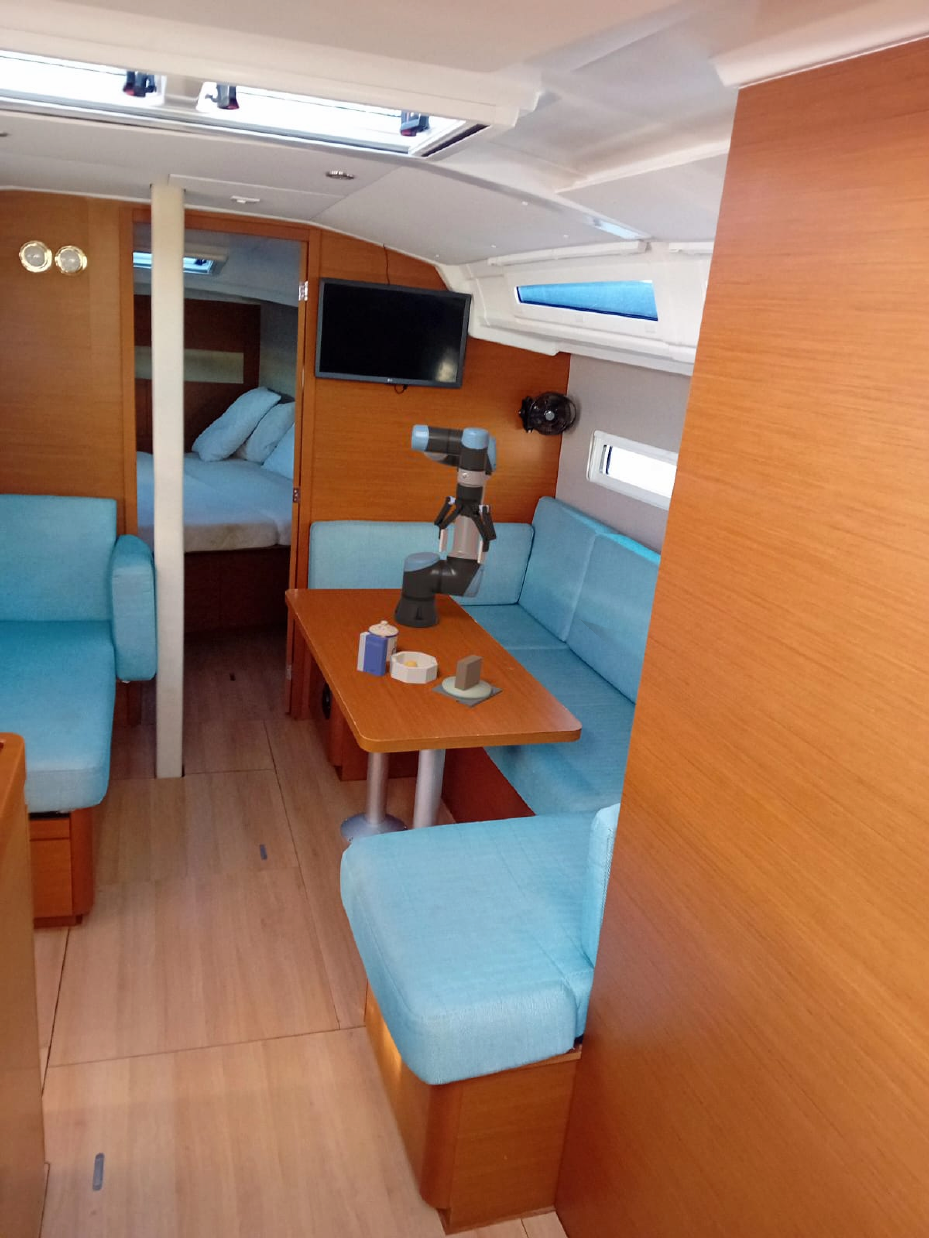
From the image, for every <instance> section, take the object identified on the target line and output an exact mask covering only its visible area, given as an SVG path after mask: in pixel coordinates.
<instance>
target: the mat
mask: <svg viewBox="0 0 929 1238" xmlns="http://www.w3.org/2000/svg"><path fill="white" fill-rule="evenodd" d="M490 686H491V694H490V695H489V696H488V697H486V698H483V699H477V700H468V699H461V698H457V697H454V696H451V695H449V694H447V693H446V692H444V691H443V689H442V683H441V684H438V685H436V686H434V687H433V688H431V689H430V690H431V691H432V692H435V693H439V694H440V695H443V696H446V697H449V698H451V699H453V700H455V702H456V703H460V704H462V705H465V706H467V705H468V706H467V707H469V706H470V707H469V708H472V707H474V706H476V705H478V704H480V703H482V702H484V701H486V700H488V699H491V698H492V697H494V696H496V695H498V694H500V693H501V692H500V691H503V688H499V687H496V686H495V685H494V686H493V685H491V684H490ZM499 692H500V693H499ZM497 693H498V694H497ZM493 695H494V696H493ZM491 696H492V697H491ZM487 698H488V699H487Z"/></svg>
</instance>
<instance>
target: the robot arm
mask: <svg viewBox="0 0 929 1238" xmlns="http://www.w3.org/2000/svg"><path fill="white" fill-rule="evenodd" d="M410 443H411V445H410V446H411V449H412V450H413V451H417V452H420V453H423V455H424V456H425V457H426V458H427V459H429V460H431V461H433V462H435V463H437V464H440V465H442V466H447V467H454V468H456V474H457V479H456V480H457V482H458V483H457V484H456V490H455V496H453V495H450V496H446V497H445V501H444V504H443V506H442V507H441V509H440V510H439V511H440V512H439V513H438V515H437V516H436V517H435V520H434V521H433V525H434V526H436V527H438V540H439V546H438V552H440V553H442V552H446V551H447V546H448V539H449V528H448V526H450V524H452V523H453V522H454V520H455V523H454V531H453V536H452V538H453V539H452V547H451V551H450V552H448V553H447V554H446V559H442V558H441V557H440V554H438V553H436V552H435V553H434V552H432V551H431V552H429V551H422V552H420V551H419V552H414V553H412V554H408V556H406V557H405V560H404V563H403V568H402V571H403V573H402V583H401V592H400V598H399V600H398V602H397V605H396V607H395V610H394V612H393V620H394V621H395V622H396V623H398V624H400V625H402V626H406V627H412V628H421V629H422V628H431V627H435V626H436V625H438V624H439V623H438V622H439V614H438V608H437V603H436V595H437V594H438V595H443V596H444V595H445V596H453V597H460V598H476V597H477V596H478V593H479V590H480V587H481V584H482V583H481V582H482V579H483V575H484V570H485V567H486V566H485V564H484V563H486V556H487V553H488V552H489V550H490V543H491V541H494V540H496V539H498V538H497V537H498V536H497V533H496V530H495V526H494V525H495V524H494V522H493V521H494V520H493V519H492V515H491V505H490V504H487V505H484V501H485V494H486V485H487V482H488V480H490V479H491V478H492V473H495V472H497V461H498V460H497V459H498V457H497V456H498V455H497V452H498V450H497V449H498V448H497V439H496V438H495V437H494V436H493V435H490V432H489V431H488V430H487V429H484V428H481V427H466V428H464V429H459V428H451V427H450V428H448V427H443V426H433V425H426V424H415V425H413V428H412V431H411V442H410ZM453 505H454V506H455V508H454V509H453V510H452V511H451V508H452V507H453ZM450 511H451V513H450V514H449V512H450ZM448 514H449V515H448ZM480 536H481V539H482V540H481V539H480Z"/></svg>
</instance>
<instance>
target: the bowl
mask: <svg viewBox="0 0 929 1238" xmlns="http://www.w3.org/2000/svg"><path fill="white" fill-rule="evenodd" d="M408 661H414V662H416V664H417V665H418V667H408V666H405V663H406V662H408ZM438 665H439V664H438V662H437V659H436V657H434V656H432V655H429V654H426V653H424V652H421V651H403V650H402V651H400V652H396V654H394V655H391V658H390V661H389V668H388V670H389V672H390V677H391V678H393V679H396V680H397V681H400V682H403V683H405V684H423V685H424V684H427V683H429V682H431V681H432V682H433V681H434V680H436V679H437V674H438V673H437V672H438Z"/></svg>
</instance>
